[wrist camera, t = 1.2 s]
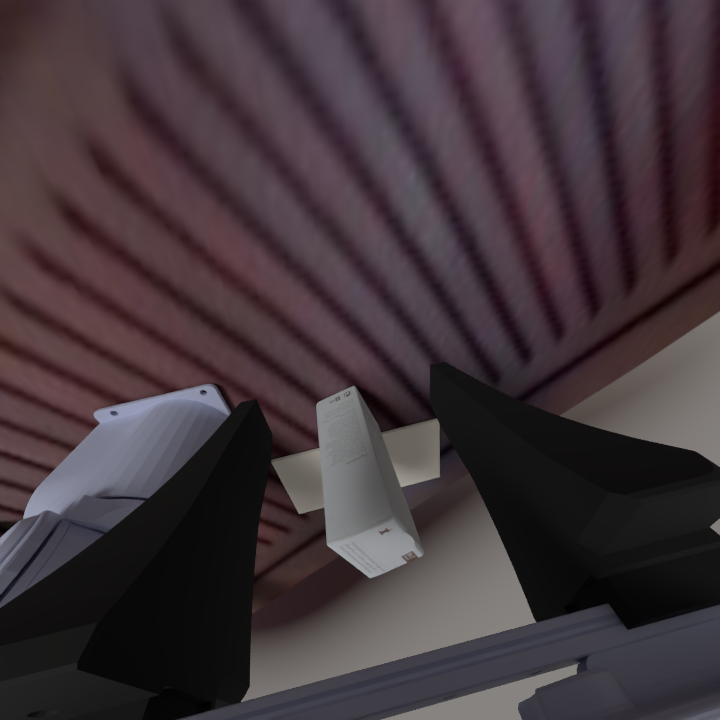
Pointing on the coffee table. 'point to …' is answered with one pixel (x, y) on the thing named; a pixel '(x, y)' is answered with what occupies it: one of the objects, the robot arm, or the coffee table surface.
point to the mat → (406, 450)
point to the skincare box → (362, 489)
